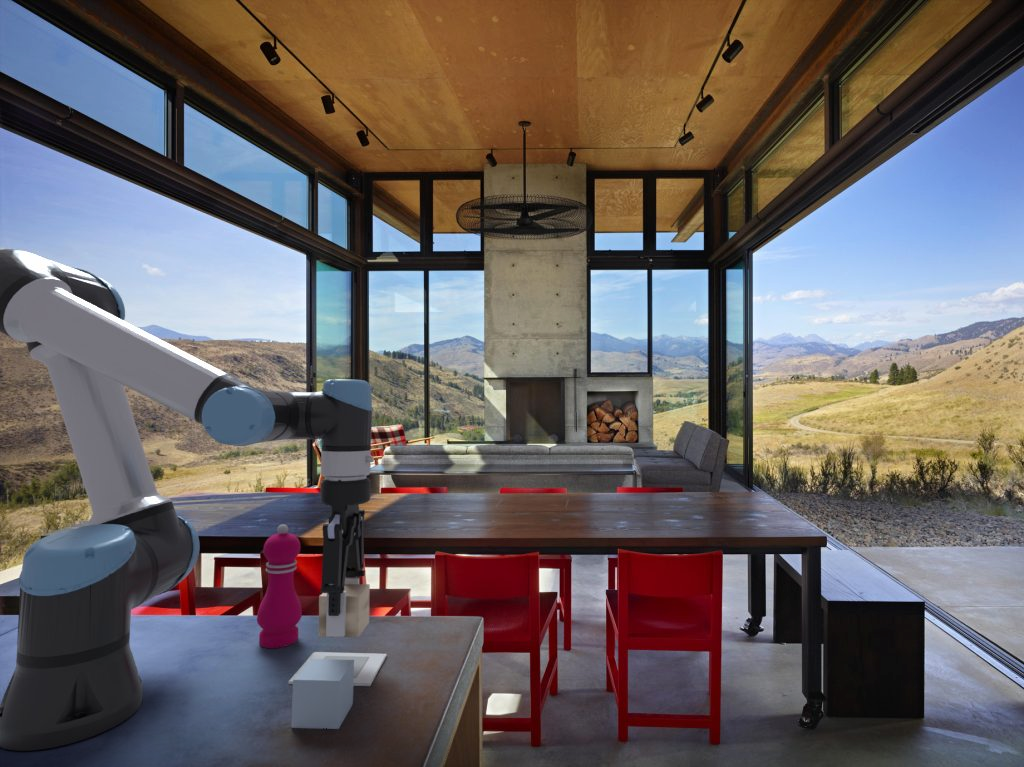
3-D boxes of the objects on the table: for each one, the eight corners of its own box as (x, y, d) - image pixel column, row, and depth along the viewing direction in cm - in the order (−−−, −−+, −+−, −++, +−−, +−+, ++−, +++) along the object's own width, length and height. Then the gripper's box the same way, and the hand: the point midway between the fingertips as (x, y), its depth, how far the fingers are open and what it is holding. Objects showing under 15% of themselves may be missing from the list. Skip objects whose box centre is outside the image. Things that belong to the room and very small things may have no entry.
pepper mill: (263, 653, 92) (268, 530, 93) (250, 639, 97) (254, 523, 98) (307, 642, 97) (311, 525, 98) (292, 629, 102) (296, 518, 103)
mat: (288, 684, 82) (288, 680, 82) (313, 654, 92) (314, 651, 92) (369, 686, 82) (370, 682, 82) (386, 656, 92) (386, 653, 92)
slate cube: (291, 728, 71) (293, 679, 71) (309, 703, 77) (310, 658, 77) (338, 729, 71) (340, 680, 71) (352, 704, 77) (354, 659, 77)
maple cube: (318, 637, 84) (319, 596, 84) (332, 622, 90) (332, 584, 90) (358, 637, 84) (358, 596, 84) (369, 622, 90) (369, 584, 90)
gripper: (351, 485, 79) (347, 653, 78) (384, 471, 98) (382, 606, 97) (298, 485, 79) (294, 653, 78) (341, 470, 98) (339, 605, 97)
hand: (342, 626), depth 87 cm, fingers closed on maple cube, 6 cm apart
